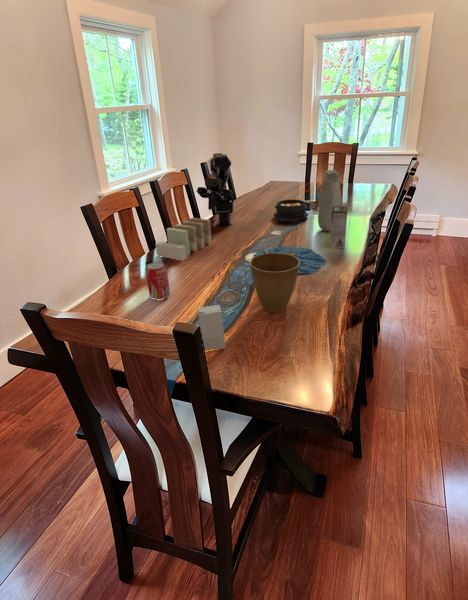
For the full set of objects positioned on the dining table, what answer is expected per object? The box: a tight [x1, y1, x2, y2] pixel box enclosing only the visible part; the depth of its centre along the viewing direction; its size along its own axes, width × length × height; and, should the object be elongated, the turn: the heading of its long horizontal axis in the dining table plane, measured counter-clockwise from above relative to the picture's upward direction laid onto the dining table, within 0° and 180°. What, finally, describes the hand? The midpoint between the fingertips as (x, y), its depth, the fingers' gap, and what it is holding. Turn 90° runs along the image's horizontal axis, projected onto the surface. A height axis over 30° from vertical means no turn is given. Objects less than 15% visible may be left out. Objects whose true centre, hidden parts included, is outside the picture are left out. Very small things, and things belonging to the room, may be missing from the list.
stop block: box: [155, 241, 188, 262], centre depth 170 cm, size 3×14×6 cm, turn 58°
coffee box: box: [329, 205, 348, 249], centre depth 172 cm, size 9×6×16 cm
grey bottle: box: [317, 169, 342, 232], centre depth 187 cm, size 10×10×28 cm
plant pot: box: [249, 253, 300, 314], centre depth 124 cm, size 15×15×16 cm
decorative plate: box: [252, 245, 327, 275], centre depth 161 cm, size 30×30×5 cm
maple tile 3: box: [174, 223, 199, 253], centre depth 177 cm, size 2×10×11 cm, turn 58°
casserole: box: [273, 199, 309, 223], centre depth 213 cm, size 25×19×8 cm
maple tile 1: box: [189, 217, 213, 245], centre depth 185 cm, size 2×10×11 cm, turn 58°
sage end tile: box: [166, 227, 191, 257], centre depth 173 cm, size 2×10×11 cm, turn 58°
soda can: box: [145, 261, 171, 299], centre depth 136 cm, size 7×7×12 cm
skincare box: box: [197, 304, 226, 351], centre depth 106 cm, size 6×4×12 cm
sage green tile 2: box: [182, 220, 206, 249], centre depth 181 cm, size 2×10×11 cm, turn 58°
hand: (209, 209), depth 187 cm, fingers closed
